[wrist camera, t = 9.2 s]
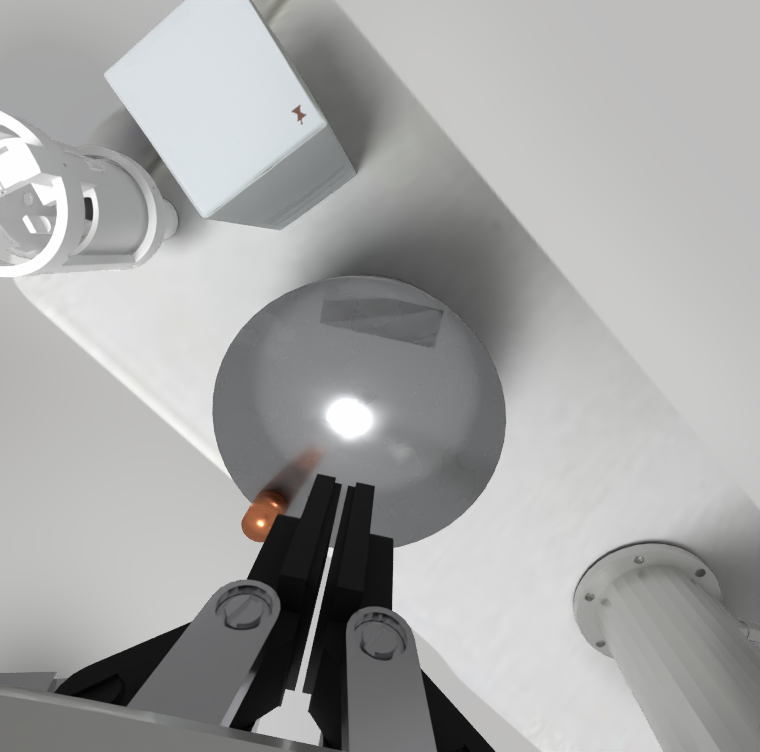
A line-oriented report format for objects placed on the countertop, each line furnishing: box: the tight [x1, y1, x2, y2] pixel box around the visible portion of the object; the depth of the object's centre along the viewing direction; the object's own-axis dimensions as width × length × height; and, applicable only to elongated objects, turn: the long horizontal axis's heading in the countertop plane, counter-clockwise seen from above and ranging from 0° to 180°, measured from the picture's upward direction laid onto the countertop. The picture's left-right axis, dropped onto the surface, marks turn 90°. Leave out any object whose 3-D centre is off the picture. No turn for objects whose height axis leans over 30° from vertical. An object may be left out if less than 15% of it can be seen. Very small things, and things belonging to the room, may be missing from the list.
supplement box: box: [104, 0, 356, 230], centre depth 25 cm, size 7×7×13 cm
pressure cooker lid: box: [213, 276, 506, 548], centre depth 23 cm, size 16×16×4 cm
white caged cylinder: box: [0, 111, 178, 277], centre depth 25 cm, size 7×7×15 cm
